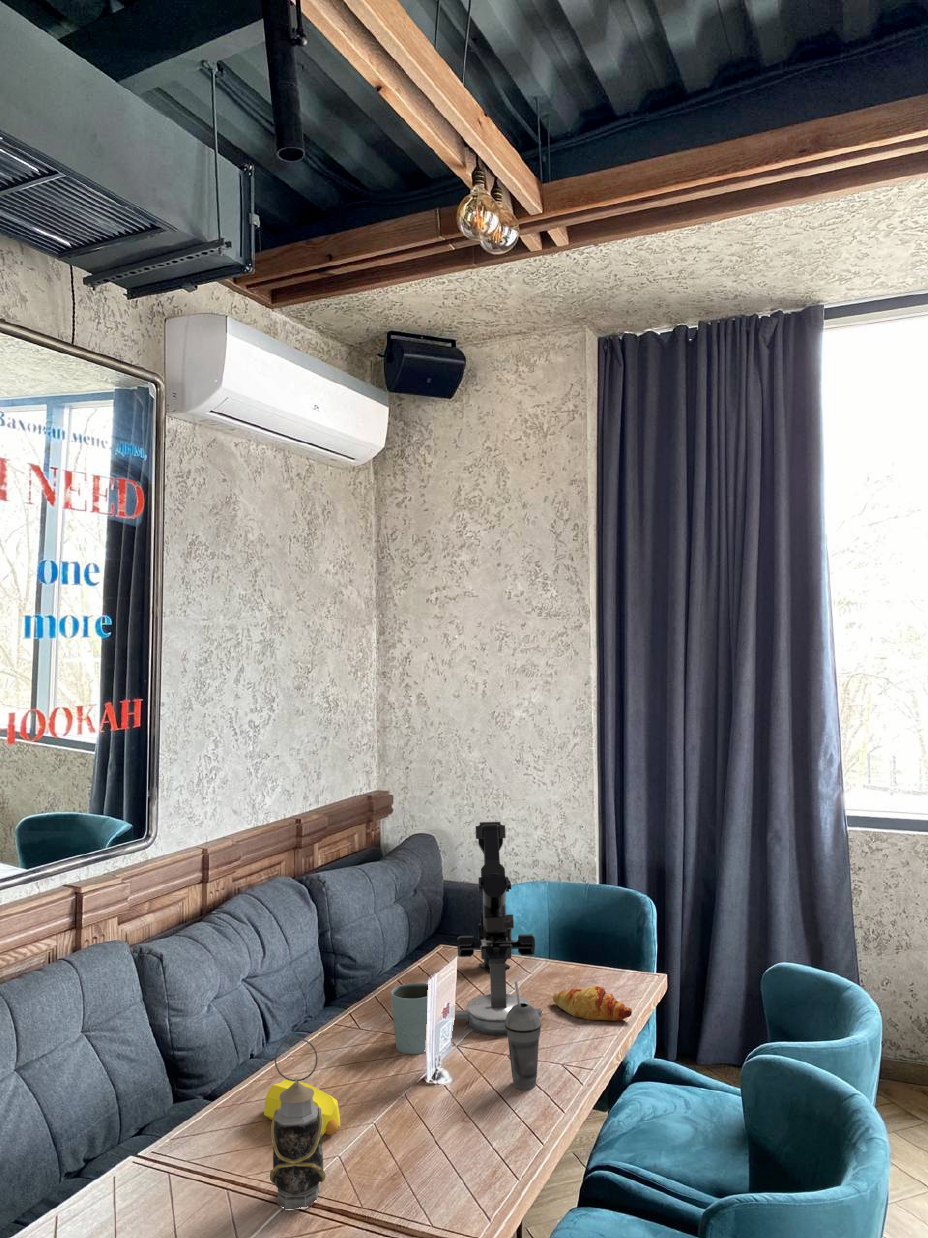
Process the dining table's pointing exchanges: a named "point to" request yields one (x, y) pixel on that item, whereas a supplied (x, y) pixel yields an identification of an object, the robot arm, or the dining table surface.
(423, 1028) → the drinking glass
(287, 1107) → the lantern
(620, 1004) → the croissant
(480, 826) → the robot arm
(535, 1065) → the beverage cup
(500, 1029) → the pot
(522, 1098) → the dining table surface
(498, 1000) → the disc with square post
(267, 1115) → the yellow rounded lump
